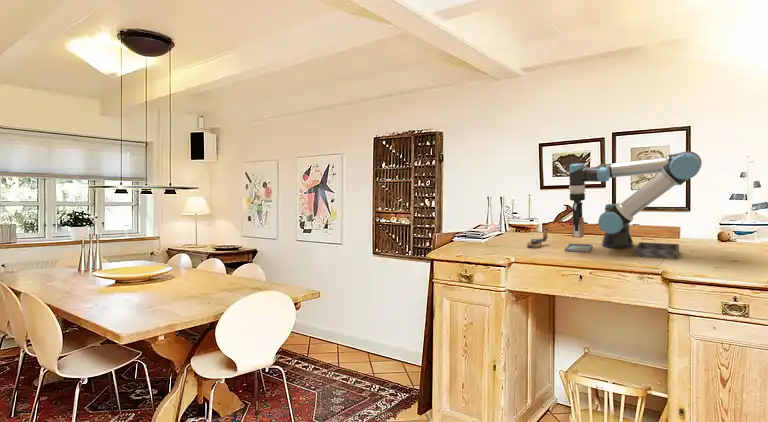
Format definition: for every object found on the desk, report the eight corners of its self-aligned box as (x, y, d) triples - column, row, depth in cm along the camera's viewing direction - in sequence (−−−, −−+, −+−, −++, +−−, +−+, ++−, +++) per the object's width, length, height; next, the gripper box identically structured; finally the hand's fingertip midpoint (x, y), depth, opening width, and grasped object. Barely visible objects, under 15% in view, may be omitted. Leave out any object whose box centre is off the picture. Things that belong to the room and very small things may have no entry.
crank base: (525, 247, 274) (525, 244, 274) (529, 244, 280) (529, 241, 280) (539, 248, 270) (539, 245, 269) (543, 245, 276) (543, 241, 276)
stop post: (583, 235, 261) (583, 217, 260) (582, 237, 257) (581, 219, 256) (574, 235, 264) (573, 217, 262) (572, 237, 260) (571, 219, 258)
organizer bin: (679, 252, 240) (679, 244, 240) (677, 259, 229) (677, 250, 229) (639, 249, 250) (639, 242, 250) (635, 256, 239) (635, 248, 239)
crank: (533, 243, 273) (532, 230, 271) (529, 242, 276) (529, 229, 275) (549, 241, 275) (549, 228, 273) (546, 240, 278) (545, 227, 277)
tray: (592, 247, 263) (592, 244, 263) (588, 252, 253) (588, 249, 253) (569, 246, 270) (569, 243, 270) (564, 251, 260) (564, 248, 260)
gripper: (573, 190, 266) (574, 231, 270) (566, 195, 251) (567, 238, 255) (587, 190, 262) (588, 231, 266) (581, 195, 247) (582, 239, 251)
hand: (578, 235), depth 260 cm, fingers closed on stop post, 5 cm apart
